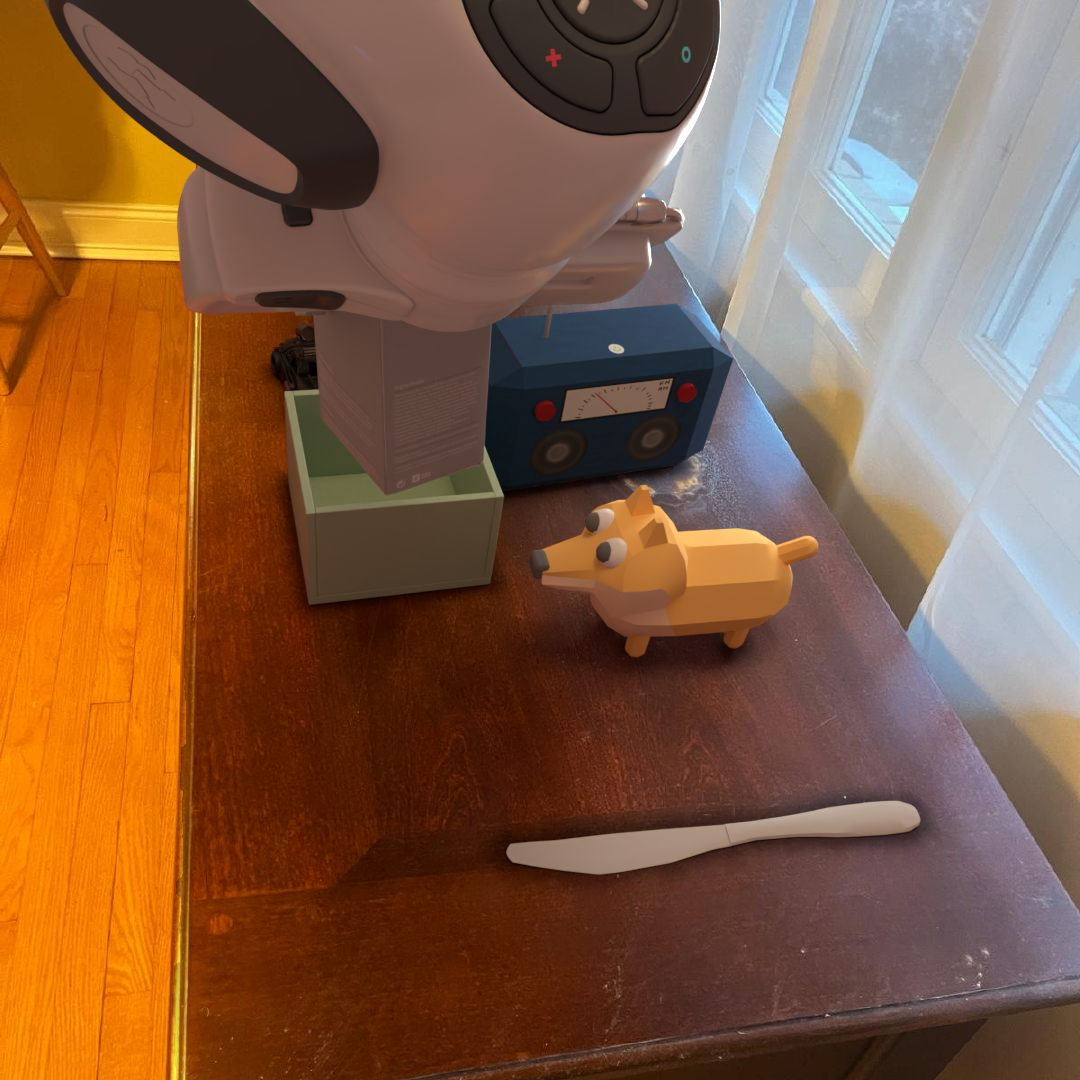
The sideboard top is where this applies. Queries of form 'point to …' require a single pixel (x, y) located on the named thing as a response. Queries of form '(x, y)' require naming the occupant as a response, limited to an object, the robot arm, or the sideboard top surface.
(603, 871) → the butter knife
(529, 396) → the radio
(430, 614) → the sideboard top surface
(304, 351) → the toy car
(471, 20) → the robot arm
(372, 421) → the cosmetic box
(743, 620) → the dog
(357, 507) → the open storage box
